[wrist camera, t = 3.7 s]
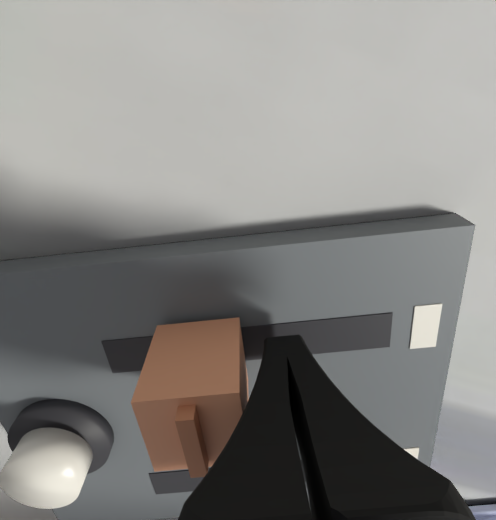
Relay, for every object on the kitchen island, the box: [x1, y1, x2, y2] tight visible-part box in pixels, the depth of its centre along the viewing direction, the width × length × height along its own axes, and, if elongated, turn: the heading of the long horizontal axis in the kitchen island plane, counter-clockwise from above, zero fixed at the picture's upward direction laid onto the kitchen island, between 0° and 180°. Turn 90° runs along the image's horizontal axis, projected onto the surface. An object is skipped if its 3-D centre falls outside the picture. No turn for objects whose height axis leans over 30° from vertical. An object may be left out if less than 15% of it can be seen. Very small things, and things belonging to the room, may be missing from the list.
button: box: [0, 427, 93, 509], centre depth 14 cm, size 3×3×1 cm
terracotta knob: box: [131, 317, 249, 478], centre depth 12 cm, size 3×3×4 cm
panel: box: [0, 213, 475, 520], centre depth 16 cm, size 15×19×2 cm
